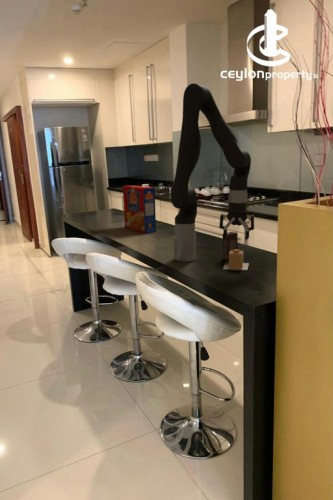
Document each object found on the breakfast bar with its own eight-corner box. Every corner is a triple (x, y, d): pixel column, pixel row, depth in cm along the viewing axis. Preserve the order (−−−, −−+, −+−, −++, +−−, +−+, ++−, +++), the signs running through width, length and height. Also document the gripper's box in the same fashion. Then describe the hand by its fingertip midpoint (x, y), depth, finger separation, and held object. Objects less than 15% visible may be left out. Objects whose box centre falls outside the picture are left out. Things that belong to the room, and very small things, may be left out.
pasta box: (124, 227, 263) (122, 186, 256) (135, 226, 267) (133, 185, 260) (145, 234, 240) (143, 188, 233) (156, 232, 244) (154, 187, 237)
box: (230, 256, 183) (231, 231, 180) (238, 258, 179) (238, 232, 176) (221, 258, 179) (222, 233, 176) (229, 260, 176) (229, 234, 173)
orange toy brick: (228, 267, 164) (228, 251, 162) (230, 263, 169) (230, 248, 168) (242, 268, 163) (242, 251, 161) (243, 264, 168) (243, 248, 166)
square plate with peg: (223, 269, 163) (223, 259, 162) (225, 263, 172) (225, 253, 171) (247, 270, 160) (247, 260, 159) (248, 264, 169) (249, 254, 168)
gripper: (219, 201, 157) (218, 240, 162) (255, 202, 154) (252, 242, 158) (221, 199, 164) (220, 236, 169) (255, 200, 161) (253, 238, 165)
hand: (236, 239), depth 163 cm, fingers open, 8 cm apart
